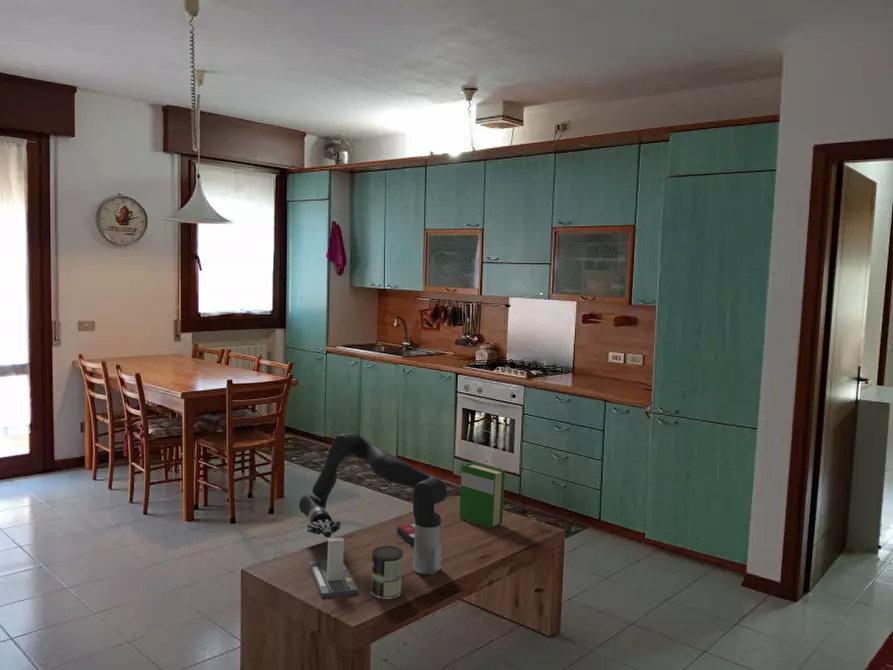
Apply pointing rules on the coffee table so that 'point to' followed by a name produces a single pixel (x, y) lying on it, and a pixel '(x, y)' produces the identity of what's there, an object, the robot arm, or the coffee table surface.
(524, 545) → the coffee table surface
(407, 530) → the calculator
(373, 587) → the coffee can
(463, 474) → the hardback book
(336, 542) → the switch tab
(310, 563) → the switch base
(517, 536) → the coffee table surface
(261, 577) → the coffee table surface
